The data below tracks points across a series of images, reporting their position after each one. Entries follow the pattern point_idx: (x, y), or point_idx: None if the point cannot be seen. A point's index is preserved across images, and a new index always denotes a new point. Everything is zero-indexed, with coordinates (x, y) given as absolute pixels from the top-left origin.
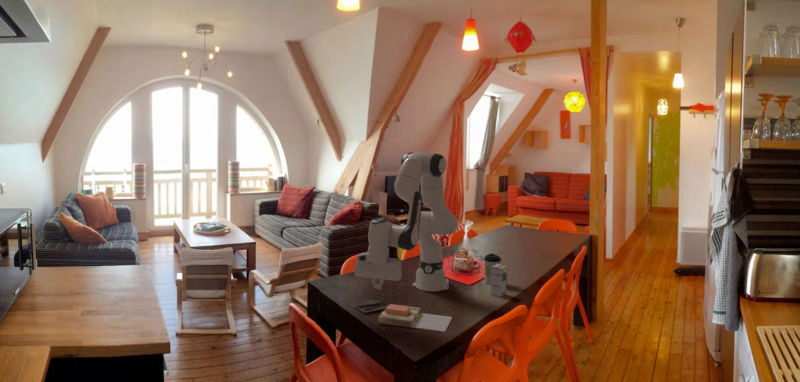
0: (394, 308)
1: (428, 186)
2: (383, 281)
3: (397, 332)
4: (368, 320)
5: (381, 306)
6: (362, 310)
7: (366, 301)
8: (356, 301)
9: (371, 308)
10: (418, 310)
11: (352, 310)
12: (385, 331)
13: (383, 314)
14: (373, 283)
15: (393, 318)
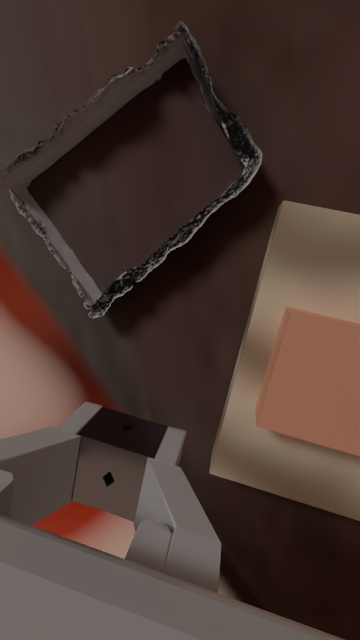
0: (337, 420)
1: None
2: (207, 545)
3: (337, 573)
4: (152, 413)
5: (209, 206)
6: (87, 295)
7: (76, 120)
8: (5, 167)
9: (140, 277)
10: None
11: (27, 259)
12: (266, 556)
13: (242, 430)
14: (28, 507)
15: (320, 497)
